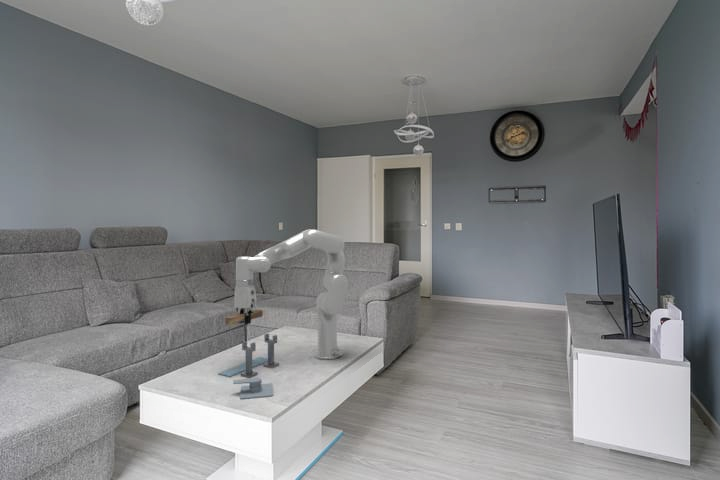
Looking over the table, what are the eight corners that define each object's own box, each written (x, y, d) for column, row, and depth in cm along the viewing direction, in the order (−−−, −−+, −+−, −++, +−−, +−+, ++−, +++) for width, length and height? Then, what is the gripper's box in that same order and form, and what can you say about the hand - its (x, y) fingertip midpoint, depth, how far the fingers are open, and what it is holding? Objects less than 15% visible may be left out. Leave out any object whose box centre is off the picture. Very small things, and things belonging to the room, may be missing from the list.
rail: (262, 316, 199) (262, 310, 199) (230, 324, 182) (230, 318, 182) (257, 315, 201) (257, 309, 201) (225, 324, 183) (225, 317, 183)
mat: (271, 360, 202) (271, 359, 202) (229, 377, 179) (229, 376, 179) (260, 358, 205) (260, 356, 205) (218, 374, 183) (218, 373, 183)
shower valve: (234, 375, 167) (272, 372, 171) (234, 388, 168) (272, 385, 171) (232, 387, 155) (273, 383, 159) (232, 401, 156) (273, 397, 159)
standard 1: (258, 374, 182) (257, 341, 182) (250, 378, 178) (249, 344, 177) (248, 372, 185) (247, 340, 185) (239, 375, 181) (239, 342, 180)
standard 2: (279, 365, 194) (279, 334, 194) (272, 368, 190) (272, 337, 189) (269, 363, 197) (269, 332, 197) (262, 366, 193) (262, 335, 192)
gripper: (263, 283, 190) (264, 323, 190) (237, 281, 198) (238, 319, 199) (251, 285, 183) (252, 327, 184) (225, 283, 192) (226, 322, 192)
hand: (244, 322), depth 191 cm, fingers closed on rail, 3 cm apart
